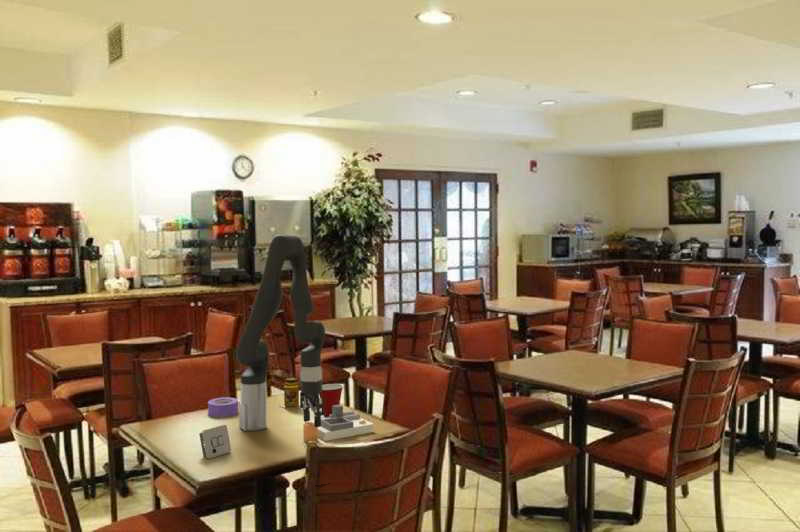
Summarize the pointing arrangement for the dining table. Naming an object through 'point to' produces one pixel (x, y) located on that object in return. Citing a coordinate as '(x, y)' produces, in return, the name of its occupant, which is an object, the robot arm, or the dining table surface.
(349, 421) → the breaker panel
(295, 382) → the condiment
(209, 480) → the dining table surface
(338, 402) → the plastic cup
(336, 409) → the breaker toggle
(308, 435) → the cap
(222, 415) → the tape roll
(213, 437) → the electrical switch
